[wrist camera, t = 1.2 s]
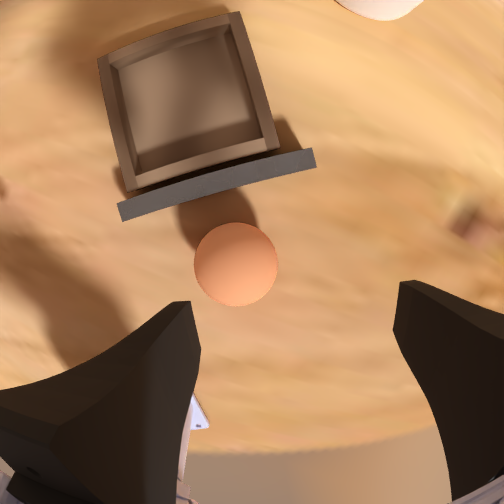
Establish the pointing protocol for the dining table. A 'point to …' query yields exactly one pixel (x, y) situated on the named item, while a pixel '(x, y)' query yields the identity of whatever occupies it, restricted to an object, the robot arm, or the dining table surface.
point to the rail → (217, 182)
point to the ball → (235, 264)
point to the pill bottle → (380, 8)
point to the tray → (186, 101)
